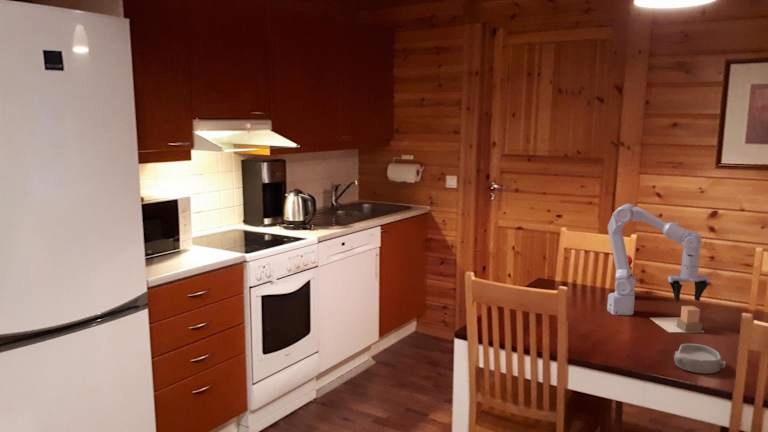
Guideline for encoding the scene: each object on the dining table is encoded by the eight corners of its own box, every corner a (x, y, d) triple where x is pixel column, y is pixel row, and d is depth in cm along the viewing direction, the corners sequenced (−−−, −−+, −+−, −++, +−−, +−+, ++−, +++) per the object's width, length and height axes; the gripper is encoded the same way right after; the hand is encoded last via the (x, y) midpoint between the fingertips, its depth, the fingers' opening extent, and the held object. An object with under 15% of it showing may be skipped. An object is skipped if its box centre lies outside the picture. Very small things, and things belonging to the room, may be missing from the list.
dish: (674, 371, 182) (675, 356, 181) (670, 354, 195) (671, 340, 194) (727, 379, 177) (729, 363, 176) (719, 361, 190) (720, 346, 189)
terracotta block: (686, 323, 212) (687, 310, 211) (680, 318, 216) (681, 306, 215) (698, 323, 212) (700, 309, 211) (692, 318, 216) (693, 305, 215)
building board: (669, 335, 211) (670, 324, 210) (649, 320, 226) (649, 310, 226) (704, 334, 211) (705, 324, 211) (682, 319, 227) (683, 310, 226)
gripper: (676, 268, 213) (672, 303, 215) (715, 267, 213) (711, 303, 215) (666, 263, 220) (663, 297, 222) (704, 263, 220) (701, 297, 222)
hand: (686, 300), depth 219 cm, fingers open, 7 cm apart
